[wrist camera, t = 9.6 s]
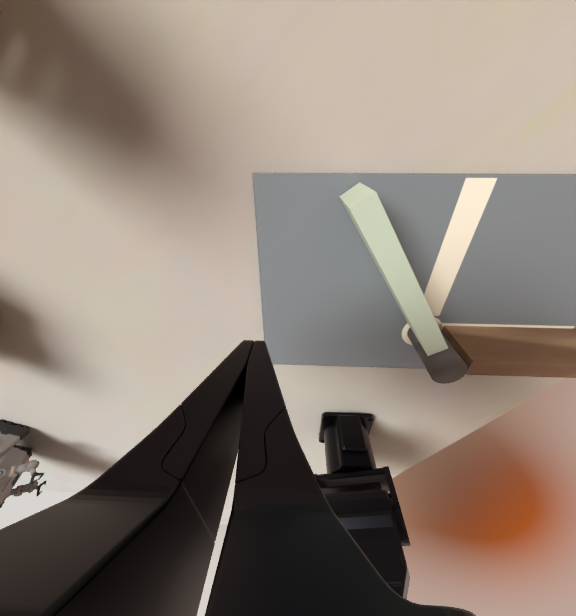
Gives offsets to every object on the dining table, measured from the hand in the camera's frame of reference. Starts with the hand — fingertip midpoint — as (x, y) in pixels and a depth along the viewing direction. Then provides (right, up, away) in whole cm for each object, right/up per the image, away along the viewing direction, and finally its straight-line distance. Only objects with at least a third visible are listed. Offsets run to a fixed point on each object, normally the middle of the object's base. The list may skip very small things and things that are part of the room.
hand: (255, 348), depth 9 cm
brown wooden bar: (+20, -1, +13) cm, 24 cm away
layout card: (+14, +3, +12) cm, 18 cm away
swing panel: (+9, +5, +10) cm, 14 cm away
